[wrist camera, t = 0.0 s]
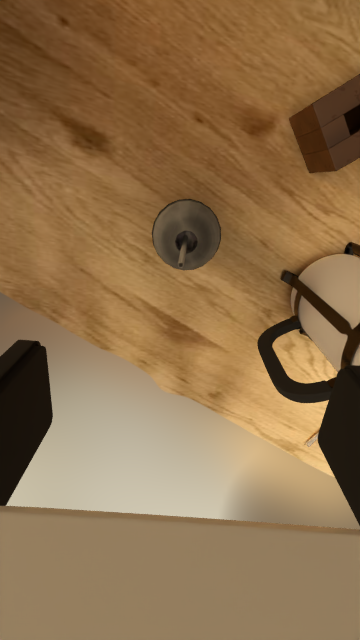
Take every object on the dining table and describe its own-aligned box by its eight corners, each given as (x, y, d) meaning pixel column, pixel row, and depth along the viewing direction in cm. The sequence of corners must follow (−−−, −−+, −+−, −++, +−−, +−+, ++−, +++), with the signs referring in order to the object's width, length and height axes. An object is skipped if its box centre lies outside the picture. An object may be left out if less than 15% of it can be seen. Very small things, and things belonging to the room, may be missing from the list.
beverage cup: (221, 208, 43) (247, 226, 25) (199, 257, 46) (208, 307, 28) (172, 185, 42) (161, 187, 24) (152, 237, 45) (128, 275, 27)
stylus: (394, 380, 52) (315, 453, 59) (391, 377, 53) (313, 449, 60) (376, 368, 51) (298, 444, 58) (373, 365, 52) (296, 440, 59)
